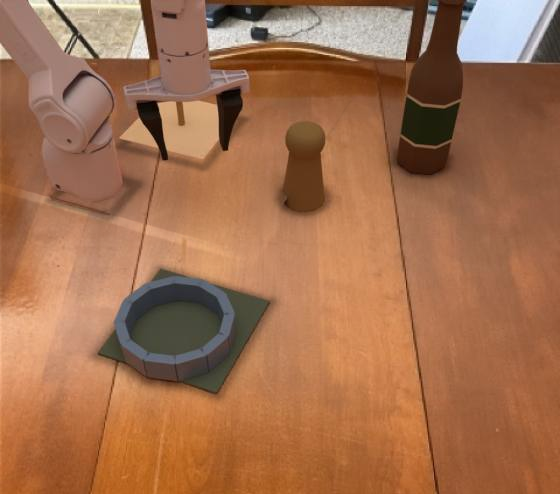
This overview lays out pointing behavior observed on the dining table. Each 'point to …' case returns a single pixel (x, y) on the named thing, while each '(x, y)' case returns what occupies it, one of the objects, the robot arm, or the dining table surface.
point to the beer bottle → (433, 95)
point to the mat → (191, 331)
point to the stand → (181, 128)
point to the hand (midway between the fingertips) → (194, 151)
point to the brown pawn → (304, 167)
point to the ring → (186, 362)
